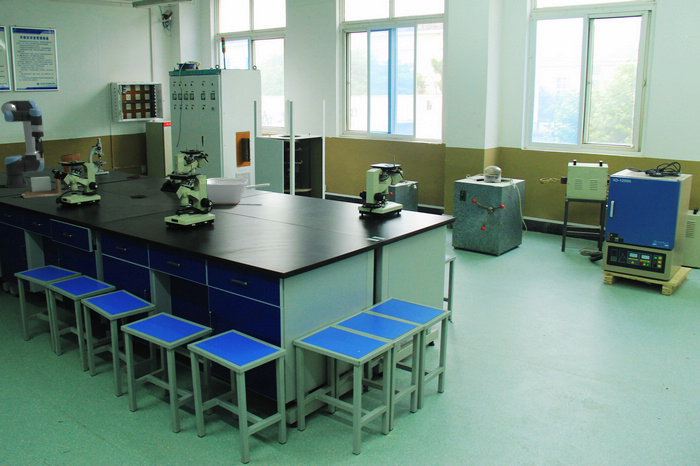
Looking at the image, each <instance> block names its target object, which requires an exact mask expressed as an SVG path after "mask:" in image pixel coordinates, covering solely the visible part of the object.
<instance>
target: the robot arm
mask: <svg viewBox="0 0 700 466" xmlns="http://www.w3.org/2000/svg"><path fill="white" fill-rule="evenodd" d="M0 110H1V113H2V115H3V118H4V121H5V123H6V122H7V123H14V122H15V123H16V122H17V123H20V122H21V123H22V126H23V134H24V135H23V136H24V143H25V150H26V151H25V153H24V156H22V155H21V154H20V155H19V154H18V155H17V154H16V155H12V156H7V157H5V159H4V165H5V166H4V167H5V173H6V175H5V176H6V178H5V183H4V185H5V186H4V187H5V188H8V189H9V188H10V189H11V188H12V189H16V188H17V189H18V188H25V187H28V181H27V180H26V178H25V175H24V173H35V172H37V173H38V172H43V170H44V168H45V156H44V153H45V152H44V147H43V140H42V138H43V137H45V135H44V134H45V133H44V125H43V117H42V115H43V114H42V110H41V109H40V108H38V105H37V102H36V101H34V100H10V101H6V102H5V103H3V104H2V105H1V109H0Z"/></svg>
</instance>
